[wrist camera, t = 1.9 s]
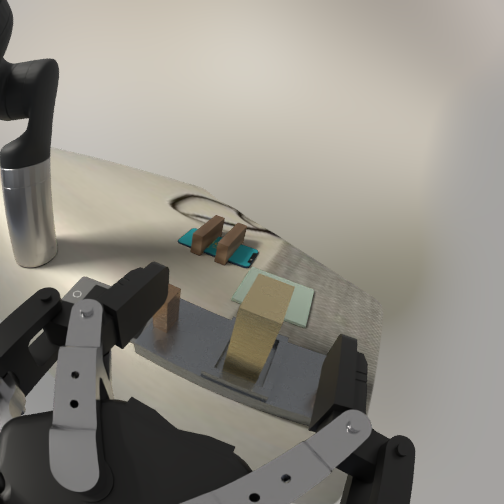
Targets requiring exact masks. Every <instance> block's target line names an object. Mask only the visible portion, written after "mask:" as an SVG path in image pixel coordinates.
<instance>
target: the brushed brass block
mask: <svg viewBox="0 0 504 504" xmlns="http://www.w3.org/2000/svg"><path fill="white" fill-rule="evenodd" d="M294 289H295V286H292V285H289V284H286V283H284V282H281V281H278V280H276V279H273V278H270V277H268V276H265V275H262V274H260V273H259V274H258V276H257V277H256V279H255V281H254V283H253V284H252V286H251V288H250V290H249V291H248V293H247V295H246V296H245V298H244V300H243V302H242V303H241V305H240V307H239V310H238V313H237V317H236V321H235V325H234V328H233V332H232V336H231V339H230V343H229V347H228V351H227V354H226V358H225V362H224V365H223V369H222V370H223V371H225V372H228V373H230V374H233V375H235V376H237V377H240V378H242V379H245V380H248V381H250V382H253V383H255V384H256V382H257V379H258V377H259V375H260V373H261V371H262V369H263V367H264V364H265V362H266V360H267V358H268V356H269V353H270V351H271V349H272V347H273V344H274V342H275V340H276V337H277V335H278V333H279V331H280V328H281V326H282V323H283V321H284V318H285V315H286V312H287V309H288V306H289V303H290V300H291V297H292V295H293V292H294Z"/></svg>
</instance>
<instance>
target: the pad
mask: <svg viewBox="0 0 504 504" xmlns="http://www.w3.org/2000/svg"><path fill="white" fill-rule="evenodd" d="M259 273H260V274H262V275H265V276H268V277H270V278H273V279H276V280H278V281H281V282H284V283H286V284H289V285H292V286H295V289H294V292H293V295H292V297H291V300H290V303H289V306H288V309H287V312H286V315H285V318H284V321H286V322H289V323H292V324H294V325H297V326H300V327H303V328H305V327H306V323H307V319H308V315H309V311H310V306H311V302H312V298H313V293H314V290H313V289H311V288H308V287H305V286H303V285H300V284H297V283H294V282H292V281H289V280H286V279H284V278H281V277H278V276H276V275H273V274H270V273H267V272H265V271H262V270H259V269H257V268H254V267H251V269H250V270H249V272H248V273H247V275H246V277H245V278H244V280H243V281H242V283H241V284H240V286H239V287H238V289H237V291H236V292H235V294H234V295H233V297H232V299H231V300H232V301H234V302H237V303H239V304H241V303H242V302H243V300H244V298H245V296H246V295H247V293H248V291H249V290H250V288H251V286H252V284H253V283H254V281H255V279H256V277H257V276H258V274H259Z"/></svg>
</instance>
